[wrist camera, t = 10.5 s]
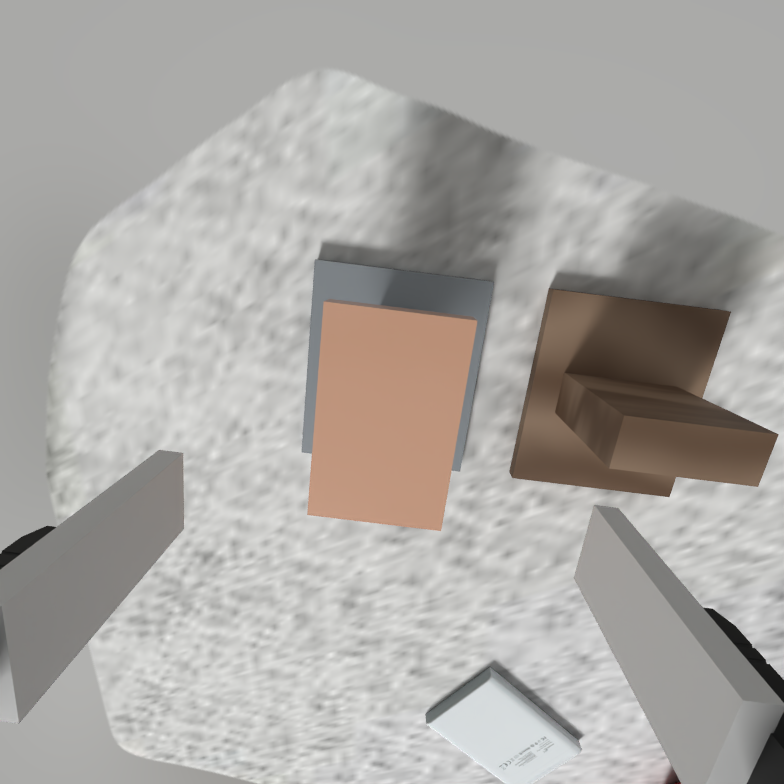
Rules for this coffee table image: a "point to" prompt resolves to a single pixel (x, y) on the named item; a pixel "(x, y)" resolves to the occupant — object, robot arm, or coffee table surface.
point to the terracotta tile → (387, 412)
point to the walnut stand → (631, 399)
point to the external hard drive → (503, 730)
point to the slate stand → (402, 293)
